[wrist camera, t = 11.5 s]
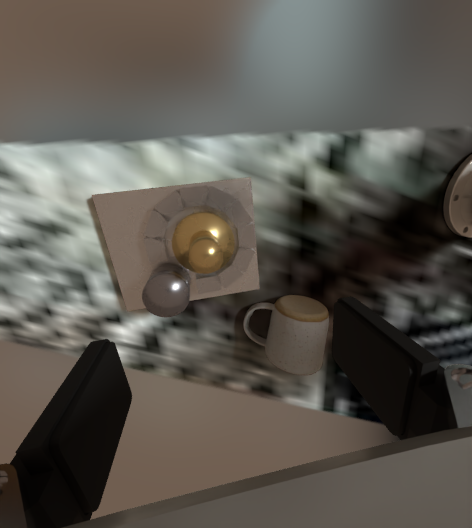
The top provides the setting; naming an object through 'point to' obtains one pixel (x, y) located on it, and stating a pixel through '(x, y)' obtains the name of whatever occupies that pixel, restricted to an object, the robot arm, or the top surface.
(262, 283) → the top surface
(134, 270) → the carrier
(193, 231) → the brass door knob
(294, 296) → the ceramic mug
